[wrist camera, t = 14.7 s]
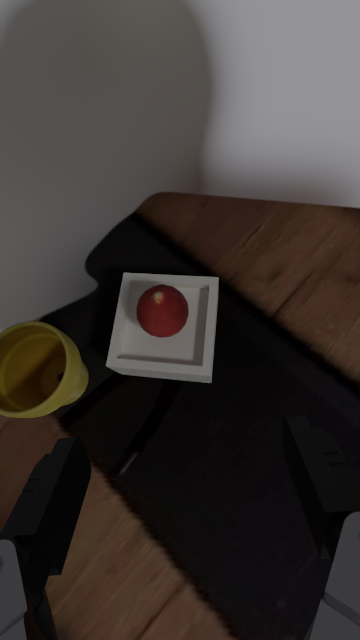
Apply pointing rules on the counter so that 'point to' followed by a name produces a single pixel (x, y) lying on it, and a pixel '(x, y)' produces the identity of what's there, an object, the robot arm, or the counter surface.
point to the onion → (162, 311)
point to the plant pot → (38, 370)
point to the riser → (167, 352)
